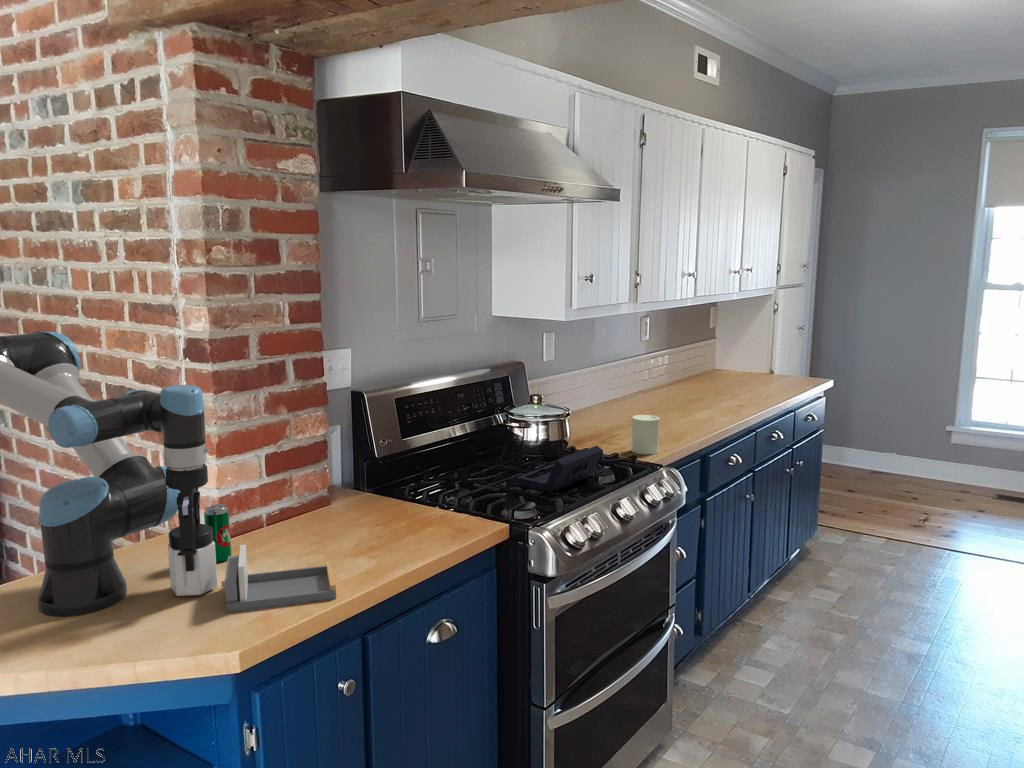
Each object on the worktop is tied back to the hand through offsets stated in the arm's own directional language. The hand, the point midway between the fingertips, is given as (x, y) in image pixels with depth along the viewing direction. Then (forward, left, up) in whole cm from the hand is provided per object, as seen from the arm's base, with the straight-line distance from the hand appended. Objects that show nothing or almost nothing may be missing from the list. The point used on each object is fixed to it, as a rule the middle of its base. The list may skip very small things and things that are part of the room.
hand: (193, 576), depth 157 cm
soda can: (+4, +16, -3) cm, 17 cm away
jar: (0, -1, -2) cm, 2 cm away
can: (+135, +74, -3) cm, 154 cm away
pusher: (+9, -7, -3) cm, 12 cm away
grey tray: (+17, -7, -3) cm, 18 cm away
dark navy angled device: (+96, +49, -4) cm, 107 cm away
